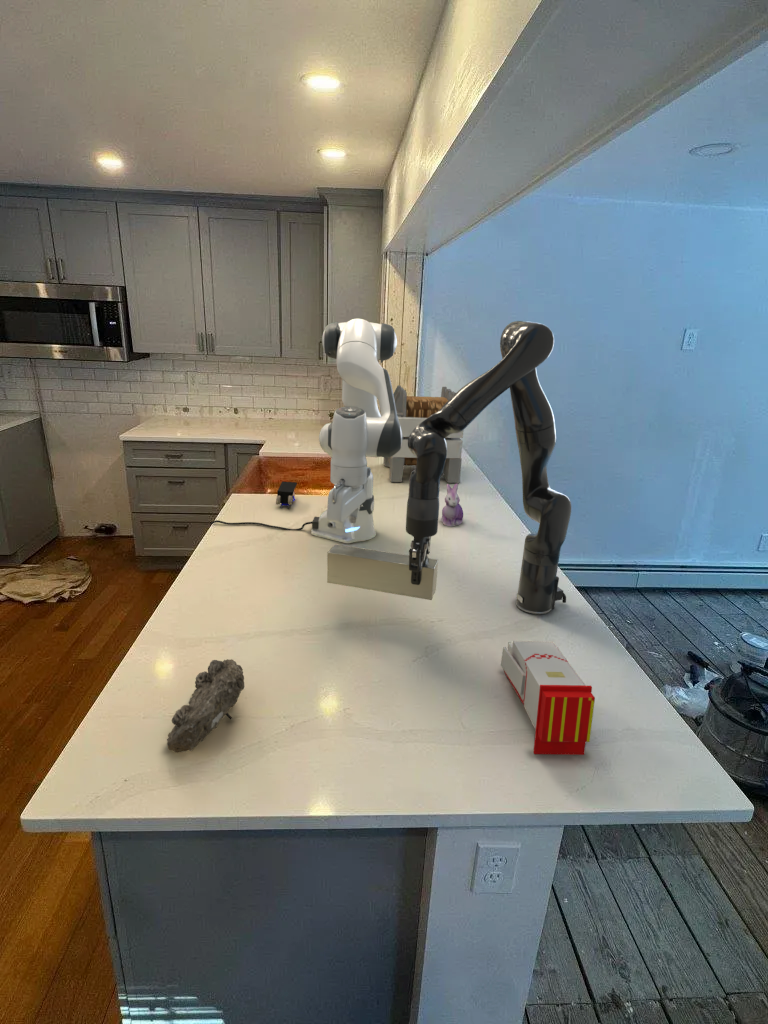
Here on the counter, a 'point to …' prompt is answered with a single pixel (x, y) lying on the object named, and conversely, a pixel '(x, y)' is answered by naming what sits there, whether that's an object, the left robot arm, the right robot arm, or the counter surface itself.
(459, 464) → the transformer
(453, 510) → the figurine
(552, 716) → the toy
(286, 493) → the figurine character
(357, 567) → the bar
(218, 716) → the fossil
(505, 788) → the counter surface
